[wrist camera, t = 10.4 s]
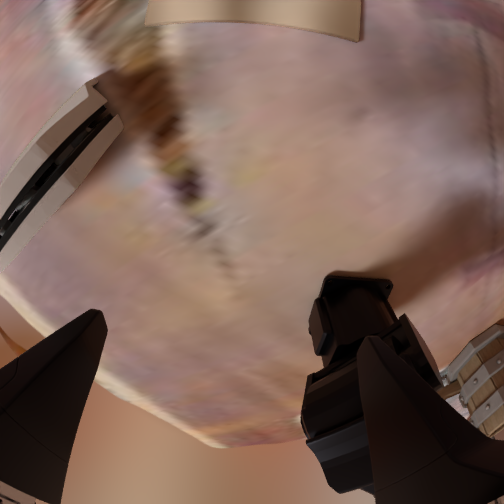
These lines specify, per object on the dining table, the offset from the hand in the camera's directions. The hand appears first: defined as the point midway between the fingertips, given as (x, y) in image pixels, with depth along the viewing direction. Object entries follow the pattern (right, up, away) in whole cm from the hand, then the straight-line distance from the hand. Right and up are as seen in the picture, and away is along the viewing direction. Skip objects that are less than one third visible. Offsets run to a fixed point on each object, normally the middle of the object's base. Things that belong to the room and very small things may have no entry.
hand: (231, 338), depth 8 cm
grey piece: (-16, +9, +9) cm, 21 cm away
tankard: (+33, -15, +22) cm, 42 cm away
